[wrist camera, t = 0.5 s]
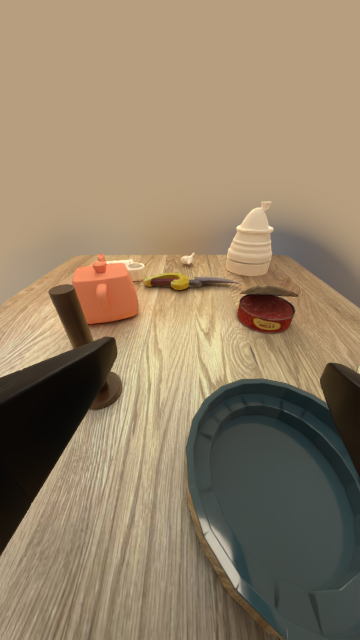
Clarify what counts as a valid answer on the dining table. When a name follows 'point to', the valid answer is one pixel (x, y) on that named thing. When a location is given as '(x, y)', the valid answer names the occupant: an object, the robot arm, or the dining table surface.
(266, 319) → the canned food
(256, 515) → the bowl
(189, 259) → the white bird figurine
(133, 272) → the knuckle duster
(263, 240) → the honey pot
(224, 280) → the knife
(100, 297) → the teapot
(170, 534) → the dining table surface
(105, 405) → the brown tapered cylinder
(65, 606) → the dining table surface
